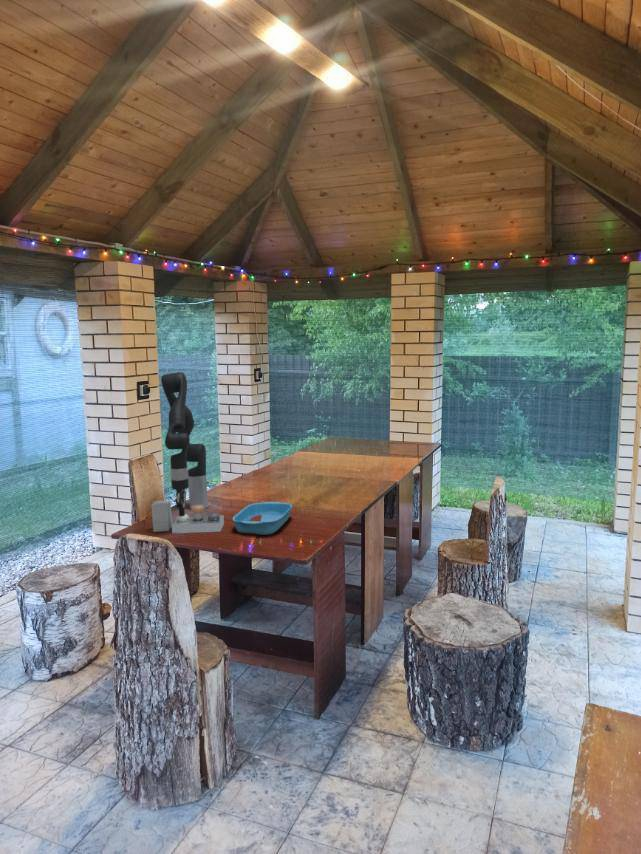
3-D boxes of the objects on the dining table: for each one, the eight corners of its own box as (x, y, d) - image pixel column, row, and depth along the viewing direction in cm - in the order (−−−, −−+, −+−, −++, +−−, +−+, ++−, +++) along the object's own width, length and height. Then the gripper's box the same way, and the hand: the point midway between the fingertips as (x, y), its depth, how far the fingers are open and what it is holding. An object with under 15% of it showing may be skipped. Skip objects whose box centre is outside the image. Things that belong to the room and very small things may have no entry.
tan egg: (193, 519, 266) (192, 504, 265) (205, 518, 266) (204, 504, 265) (191, 522, 261) (190, 508, 260) (203, 522, 261) (202, 507, 260)
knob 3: (209, 527, 267) (208, 512, 266) (221, 526, 267) (220, 512, 266) (207, 530, 261) (206, 516, 261) (219, 530, 262) (218, 515, 261)
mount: (178, 527, 270) (177, 516, 269) (224, 525, 270) (223, 515, 269) (172, 535, 258) (171, 524, 257) (220, 533, 258) (219, 522, 258)
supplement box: (172, 526, 271) (171, 499, 270) (169, 531, 264) (167, 504, 262) (156, 527, 271) (154, 500, 269) (152, 532, 264) (150, 504, 262)
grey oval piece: (178, 528, 266) (177, 514, 265) (190, 528, 266) (189, 513, 266) (176, 532, 261) (175, 517, 260) (187, 531, 261) (186, 517, 260)
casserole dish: (252, 514, 289) (252, 499, 288) (297, 515, 284) (296, 500, 283) (226, 538, 253) (225, 522, 252) (276, 539, 248) (275, 523, 247)
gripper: (174, 474, 267) (176, 511, 269) (167, 481, 254) (170, 520, 256) (191, 474, 267) (193, 511, 269) (185, 480, 254) (187, 519, 256)
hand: (182, 515), depth 263 cm, fingers closed
